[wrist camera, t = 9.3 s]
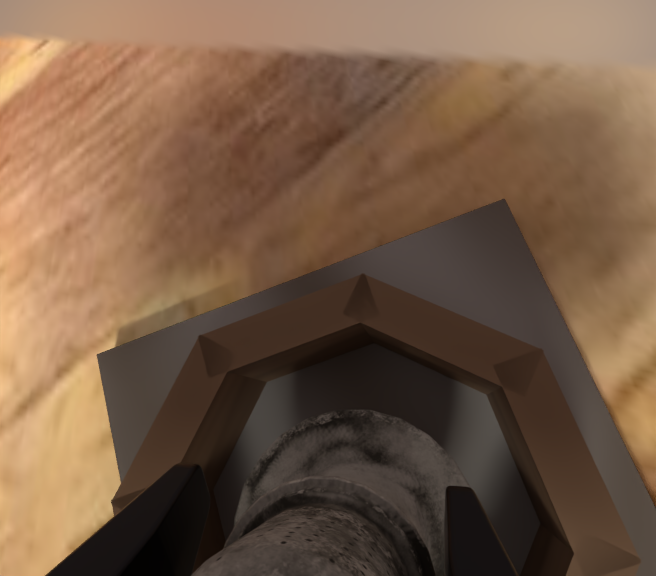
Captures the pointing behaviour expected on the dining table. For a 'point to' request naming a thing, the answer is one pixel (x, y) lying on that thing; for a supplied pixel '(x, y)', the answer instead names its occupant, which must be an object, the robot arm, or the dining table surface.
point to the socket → (399, 391)
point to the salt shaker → (342, 502)
